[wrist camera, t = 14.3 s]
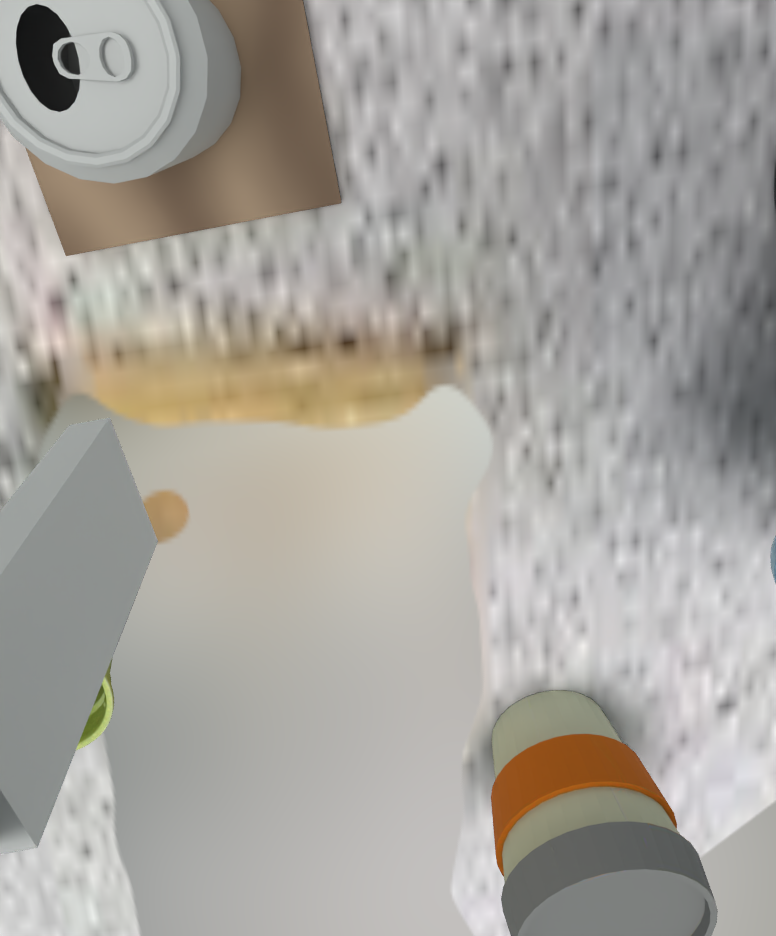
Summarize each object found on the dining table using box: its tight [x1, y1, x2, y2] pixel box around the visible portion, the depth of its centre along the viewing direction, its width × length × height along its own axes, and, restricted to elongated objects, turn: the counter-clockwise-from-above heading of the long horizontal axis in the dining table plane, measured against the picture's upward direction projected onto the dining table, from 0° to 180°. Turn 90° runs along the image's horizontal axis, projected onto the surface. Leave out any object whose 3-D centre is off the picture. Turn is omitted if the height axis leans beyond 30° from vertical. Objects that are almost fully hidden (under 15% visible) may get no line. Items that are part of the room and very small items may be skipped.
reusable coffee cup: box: [491, 690, 718, 936], centre depth 49 cm, size 13×12×15 cm
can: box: [0, 0, 241, 184], centre depth 27 cm, size 8×8×12 cm
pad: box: [25, 0, 341, 256], centre depth 33 cm, size 14×14×1 cm
